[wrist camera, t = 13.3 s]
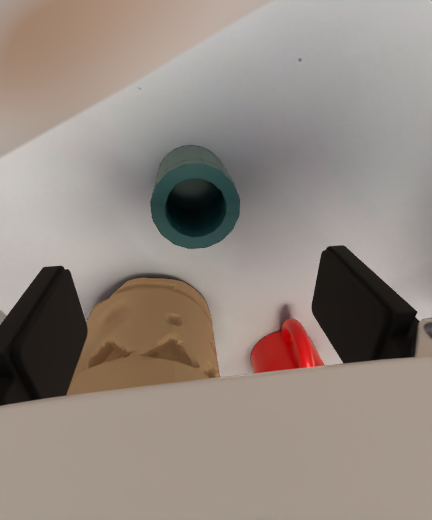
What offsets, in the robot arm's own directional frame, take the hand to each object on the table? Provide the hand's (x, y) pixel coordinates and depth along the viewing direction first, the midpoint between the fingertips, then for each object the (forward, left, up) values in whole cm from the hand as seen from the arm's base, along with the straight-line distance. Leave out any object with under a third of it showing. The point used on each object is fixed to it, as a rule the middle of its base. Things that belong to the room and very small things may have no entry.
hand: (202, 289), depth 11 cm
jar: (0, 0, -16) cm, 16 cm away
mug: (-10, +20, -16) cm, 27 cm away
